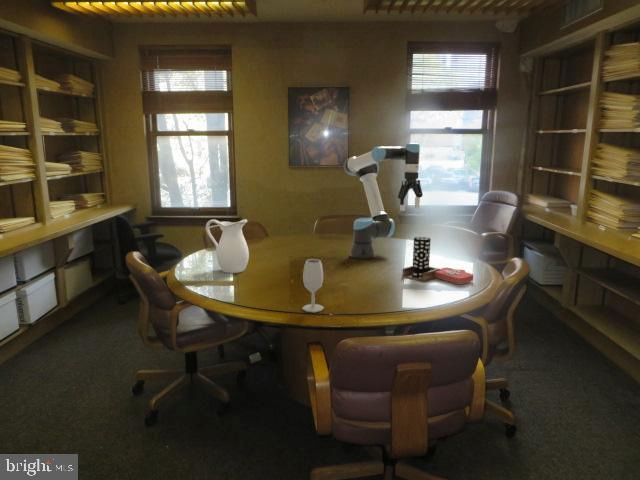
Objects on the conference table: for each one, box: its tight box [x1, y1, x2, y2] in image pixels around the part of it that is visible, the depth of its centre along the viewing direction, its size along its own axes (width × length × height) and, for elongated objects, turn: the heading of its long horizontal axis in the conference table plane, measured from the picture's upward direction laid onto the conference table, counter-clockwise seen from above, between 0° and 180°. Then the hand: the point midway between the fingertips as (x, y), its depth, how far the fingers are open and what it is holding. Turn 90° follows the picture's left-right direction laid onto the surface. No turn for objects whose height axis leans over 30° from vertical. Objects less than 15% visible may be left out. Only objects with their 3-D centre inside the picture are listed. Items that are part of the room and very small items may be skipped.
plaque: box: [434, 267, 474, 285], centre depth 244 cm, size 18×4×15 cm
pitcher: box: [205, 218, 250, 274], centre depth 256 cm, size 24×17×28 cm
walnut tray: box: [401, 265, 441, 283], centre depth 248 cm, size 13×14×4 cm
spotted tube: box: [412, 236, 432, 278], centre depth 246 cm, size 8×8×20 cm
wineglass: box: [302, 258, 325, 313], centre depth 197 cm, size 9×9×21 cm
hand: (409, 209), depth 268 cm, fingers open, 13 cm apart
